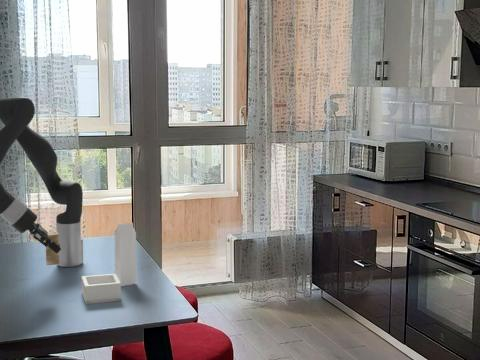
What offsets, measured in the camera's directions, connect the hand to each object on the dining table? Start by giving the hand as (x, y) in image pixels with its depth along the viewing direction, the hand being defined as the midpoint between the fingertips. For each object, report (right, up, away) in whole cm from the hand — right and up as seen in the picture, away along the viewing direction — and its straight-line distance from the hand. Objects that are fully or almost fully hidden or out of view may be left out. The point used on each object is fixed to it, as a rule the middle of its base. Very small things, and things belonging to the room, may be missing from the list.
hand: (58, 249), depth 203 cm
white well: (+14, -16, +2) cm, 21 cm away
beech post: (-2, -5, 0) cm, 5 cm away
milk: (+19, -14, +17) cm, 30 cm away
